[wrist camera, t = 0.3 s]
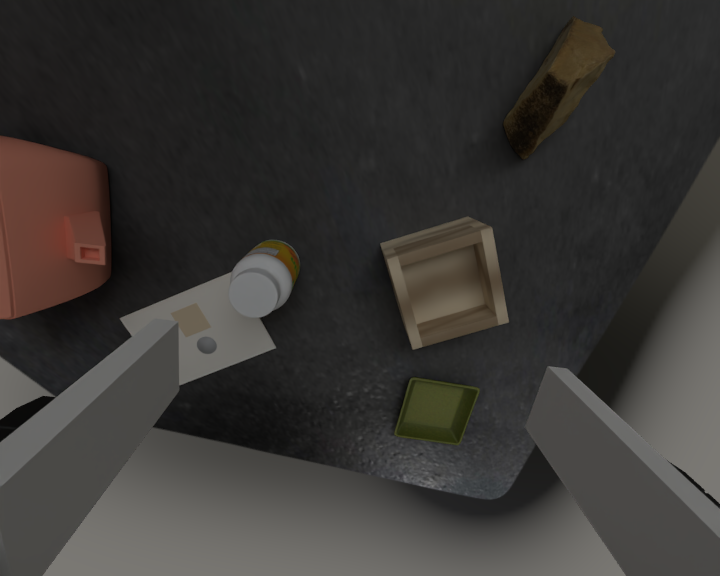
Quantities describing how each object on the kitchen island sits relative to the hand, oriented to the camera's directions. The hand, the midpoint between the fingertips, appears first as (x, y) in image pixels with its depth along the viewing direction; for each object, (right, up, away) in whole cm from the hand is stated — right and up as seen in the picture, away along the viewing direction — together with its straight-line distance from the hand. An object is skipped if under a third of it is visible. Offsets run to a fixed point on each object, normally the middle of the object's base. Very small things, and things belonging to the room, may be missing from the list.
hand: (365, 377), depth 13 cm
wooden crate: (+8, +5, +26) cm, 28 cm away
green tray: (+9, -11, +33) cm, 36 cm away
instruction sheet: (-18, -2, +27) cm, 33 cm away
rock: (+17, +22, +21) cm, 35 cm away
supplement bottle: (-9, +6, +25) cm, 28 cm away
